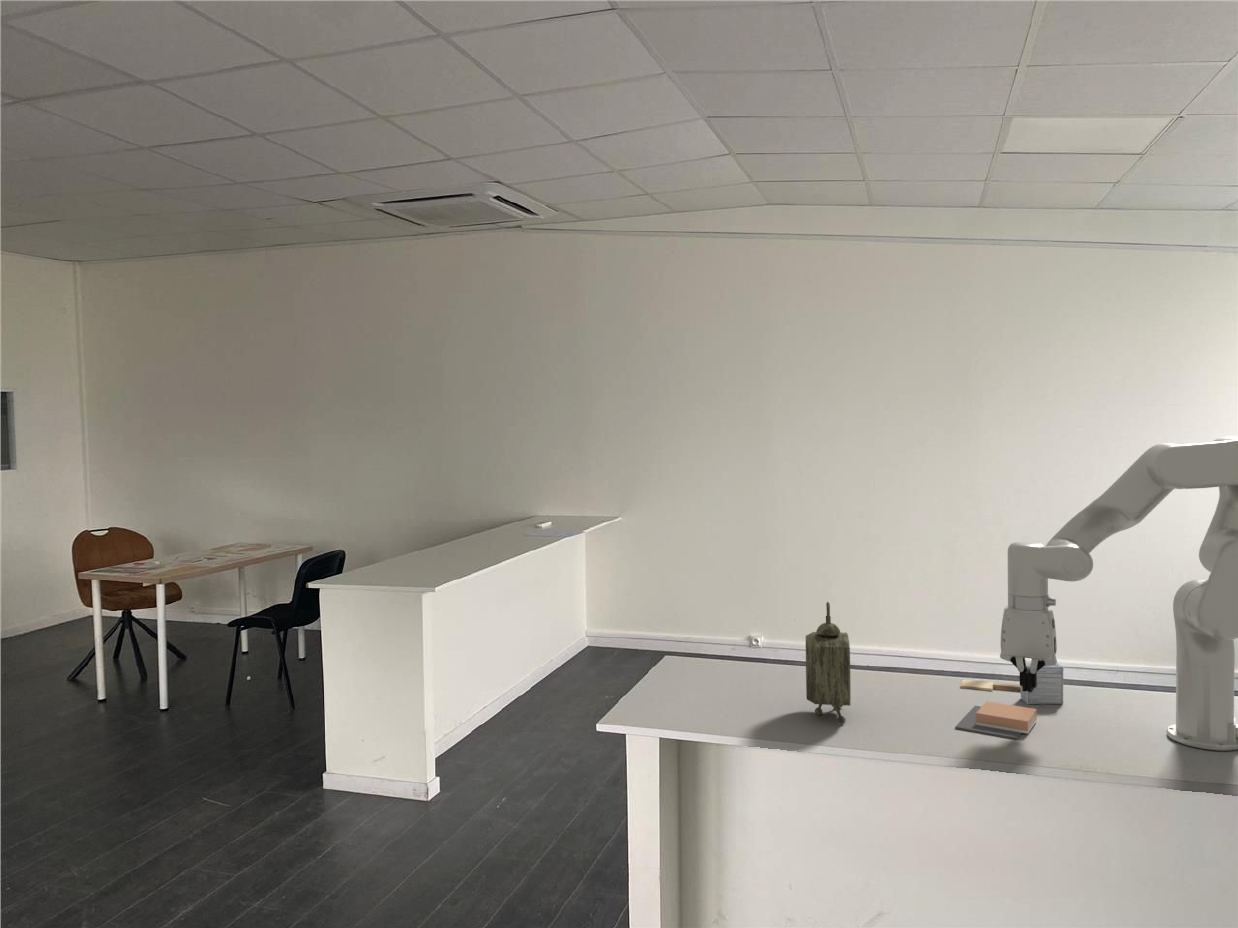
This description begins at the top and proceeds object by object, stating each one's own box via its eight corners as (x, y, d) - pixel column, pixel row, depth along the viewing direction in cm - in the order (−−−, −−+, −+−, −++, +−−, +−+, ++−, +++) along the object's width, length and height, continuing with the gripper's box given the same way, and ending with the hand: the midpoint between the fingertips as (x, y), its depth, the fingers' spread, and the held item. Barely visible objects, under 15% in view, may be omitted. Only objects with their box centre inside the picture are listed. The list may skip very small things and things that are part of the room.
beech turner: (1039, 688, 207) (1039, 684, 207) (1039, 695, 202) (1039, 691, 202) (962, 681, 215) (962, 677, 215) (960, 688, 210) (960, 683, 210)
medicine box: (1056, 698, 200) (1056, 661, 200) (1063, 704, 196) (1063, 666, 196) (1020, 698, 201) (1020, 661, 201) (1027, 704, 197) (1027, 666, 196)
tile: (1036, 709, 185) (986, 701, 191) (1027, 721, 178) (976, 712, 183) (1036, 720, 185) (986, 712, 191) (1027, 733, 178) (976, 724, 184)
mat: (1033, 716, 189) (1033, 714, 189) (1017, 739, 176) (1017, 737, 176) (974, 707, 196) (974, 705, 196) (955, 728, 183) (955, 726, 183)
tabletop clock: (850, 727, 185) (849, 610, 184) (807, 725, 187) (805, 609, 185) (847, 705, 199) (845, 596, 198) (806, 703, 201) (804, 595, 200)
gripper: (1071, 602, 179) (1071, 691, 180) (993, 595, 188) (994, 680, 189) (1064, 609, 173) (1065, 701, 174) (984, 602, 182) (985, 689, 183)
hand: (1028, 689), depth 181 cm, fingers closed
